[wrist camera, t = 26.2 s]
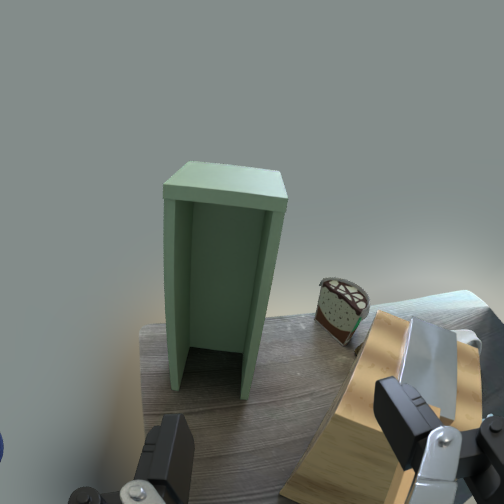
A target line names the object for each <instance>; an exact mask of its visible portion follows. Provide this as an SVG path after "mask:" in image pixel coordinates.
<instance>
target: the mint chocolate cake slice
mask: <svg viewBox="0 0 504 504" xmlns="http://www.w3.org/2000/svg"><path fill="white" fill-rule="evenodd" d="M319 286H321V290H320V296H319V300H318V305H317V310H316V314H315V319H314V320H315V321H316V322H317V323H318V324H319V325H320V326H321V327H323V328H324V329H325V330H326V331H327V332H328V333H329V334H330V335H331V336H332V337H333V338H334V339H336V340H337V341H338V342H339V343H340V344H341V345H342V346H343V347H344V346H345V345H347V344H348V342H349V341H350V339H351V337H352V336H353V334H354V332H355V330H356V329H357V327H358V325H359V323H360V321H361V320H363V319H365V318H366V317H367V315H368V313H369V308H370V299H369V296H368V294H367V293H366V292H365V291H364V290H363V289H362V288H361V287H360V286H358V285H357V284H355V283H353V282H350V281H348V280H345V279H341V278H323V280H322V281H321V282H320V284H319Z"/></svg>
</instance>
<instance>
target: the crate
mask: <svg viewBox="0 0 504 504" xmlns="http://www.w3.org/2000/svg"><path fill="white" fill-rule="evenodd" d="M408 328H409V321H406V320H403V319H401V318H398V317H396V316H393V315H391V314H388V313H386V312H383V311H381V310H378V311H377V313H376V316H375V318H374V320H373V322H372V325H371V327H370V329H369V331H368V334H367V336H366V338H365V340H364V342H363V344H362V347H361V349H360V351H359V353H358V355H357V357H356V359H355V361H354V363H353V365H352V367H351V369H350V371H349V373H348V375H347V377H346V379H345V381H344V383H343V384H342V386H341V388H340V390H339V392H338V394H337V396H336V397H335V399H334V401H333V403H332V405H331V406H330V408H329V410H328V412H327V413H326V415H325V417H324V419H323V421H322V423H321V424H320V426H319V428H318V430H317V432H316V434H315V435H314V437H313V439H312V441H311V442H310V444H309V446H308V448H307V449H306V451H305V453H304V454H303V456H302V458H301V459H300V461H299V463H298V464H297V466H296V468H295V469H294V471H293V472H292V474H291V476H290V477H289V479H288V480H287V482H286V483H285V485H284V486H283V488H282V489H281V491H280V492H279V494H280V495H282V496H284V497H286V498H289V499H291V500H293V501H295V502H298V503H300V504H384V502H385V499H386V497H387V494H388V491H389V488H390V486H391V483H392V480H393V477H394V474H395V471H396V468H397V464H398V459H397V458H396V456H395V454H394V452H393V450H392V448H391V446H390V444H389V442H388V441H387V439H386V437H385V435H384V433H383V431H382V429H381V428H380V426H379V424H378V422H377V420H376V418H375V415H374V411H373V402H374V391H375V382H376V380H379V379H383V378H386V377H389V376H394V377H395V378H396V379H398V375H399V371H400V367H401V362H402V358H403V353H404V349H405V344H406V339H407V333H408ZM481 423H482V390H481V373H480V361H479V351H478V348H475V347H472V346H470V345H467V344H465V343H462V342H460V341H457V395H456V411H455V420H454V422H453V423H452V424H451V425H450V426H452V427H455V428H456V429H458V430H459V431H466V430H471V429H476V428H480V425H481ZM455 480H457V479H455Z"/></svg>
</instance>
